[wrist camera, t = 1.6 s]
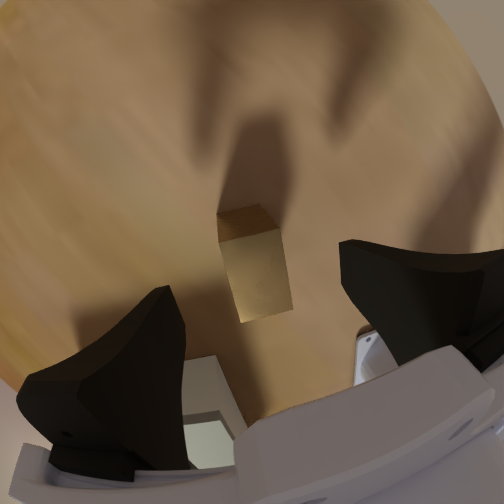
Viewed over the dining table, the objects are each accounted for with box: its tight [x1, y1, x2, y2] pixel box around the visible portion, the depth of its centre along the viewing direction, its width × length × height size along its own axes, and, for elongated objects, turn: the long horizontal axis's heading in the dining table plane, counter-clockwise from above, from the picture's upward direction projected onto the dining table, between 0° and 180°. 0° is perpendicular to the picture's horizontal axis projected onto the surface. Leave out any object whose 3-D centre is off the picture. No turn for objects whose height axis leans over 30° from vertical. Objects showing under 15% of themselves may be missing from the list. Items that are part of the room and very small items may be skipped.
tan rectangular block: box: [216, 204, 293, 323], centre depth 14 cm, size 2×4×5 cm, turn 11°
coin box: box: [182, 355, 248, 470], centre depth 19 cm, size 12×14×6 cm
